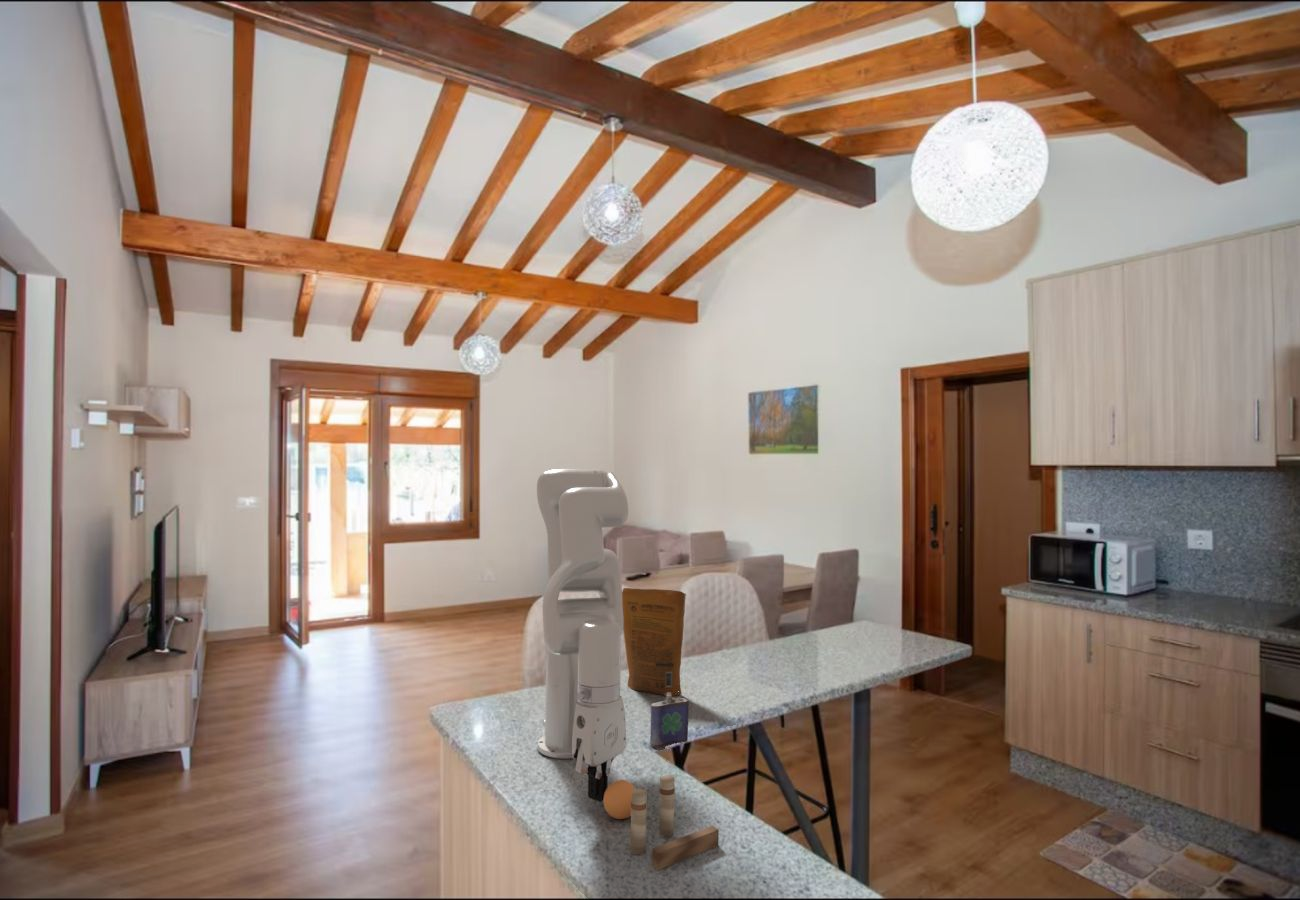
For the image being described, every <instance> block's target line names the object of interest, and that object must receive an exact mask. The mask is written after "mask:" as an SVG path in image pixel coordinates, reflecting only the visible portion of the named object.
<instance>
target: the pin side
mask: <svg viewBox="0 0 1300 900" xmlns="http://www.w3.org/2000/svg"><path fill="white" fill-rule="evenodd" d="M647 792H648V791H647V790H646V789H643V788H635V789H634V790H633V791H632V792H631V816H630V847H629V848H630V853H631V854H633V855H635V856H641V855H644V854H645V853H646V850H647V847H646V846H647V808H648V802H647V799H648V798H647V795H648V793H647Z"/></svg>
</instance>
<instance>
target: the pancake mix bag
mask: <svg viewBox="0 0 1300 900" xmlns="http://www.w3.org/2000/svg"><path fill="white" fill-rule="evenodd" d="M686 596H687V594H686V593H684V592H683V591H682V590H681V591H680V590H671V589H660V588H659V589H658V588H655V589H653V588H651V589H650V588H645V589H643V588H630V587H623V588H622V599H623V615H624V626H623V632H622V635H623V640H624V647H625V657H626V662H627V669H628V675H629V676H628V678H627V679H628V680H627V686H628V688H629V689H630V690H633V691H637V692H644V693H647V694H648V693H649V694H655V695H661V696H665V697H667V694H666V693H669V692H670V693H672V694H671V696H672V697H674V696H676V697H677V696H679V695H682V690H681V689H682V688H681V676H680V673H681V664H682V650H683V649H682V648H683V642H684V641H683V640H684V627H685V626H684V625H685V623H684V622H685V612H686V609H685V608H686ZM678 691H679V692H678ZM665 694H666V695H665Z"/></svg>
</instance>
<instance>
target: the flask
mask: <svg viewBox="0 0 1300 900" xmlns="http://www.w3.org/2000/svg"><path fill="white" fill-rule="evenodd" d="M666 694H667V696H665V700H662V701H658V702H657V701H656V702H653V703H651V704H650V738H649V745H650V747H652V748H661V747H667V746H671V745H674V744H675V745H677V744H681V743H687V742H688V738H689V735H688V734H689V709H690V708H689V706H690V705H689V704H690V701H689V700H688V699H686V698H684V697H683V698H681V697H674V696H671V694H672V693H670V692H669V693H666ZM666 694H665V695H666Z"/></svg>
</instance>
